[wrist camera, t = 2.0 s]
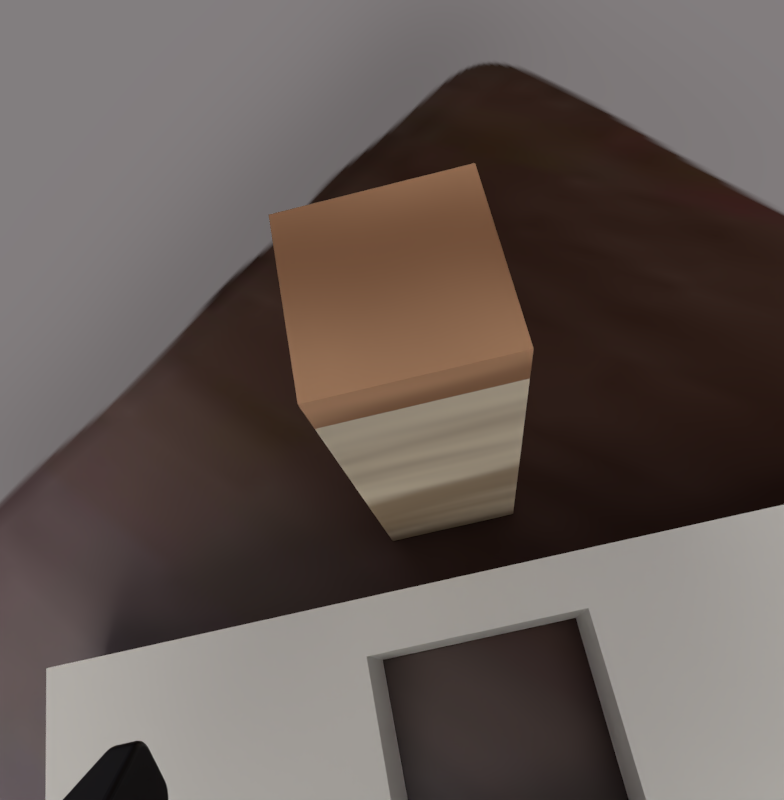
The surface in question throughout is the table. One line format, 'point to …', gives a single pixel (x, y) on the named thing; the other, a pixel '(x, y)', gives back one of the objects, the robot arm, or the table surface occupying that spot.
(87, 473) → the table surface
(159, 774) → the robot arm
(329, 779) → the white slotted block
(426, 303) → the wooden peg
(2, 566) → the table surface
